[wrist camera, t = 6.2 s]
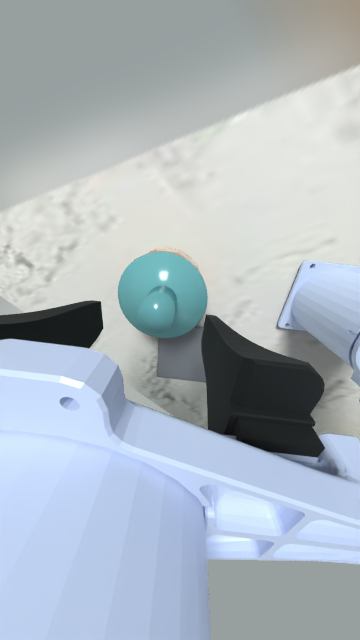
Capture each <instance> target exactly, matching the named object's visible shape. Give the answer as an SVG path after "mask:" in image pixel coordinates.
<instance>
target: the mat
mask: <svg viewBox="0 0 360 640" xmlns="http://www.w3.org/2000/svg"><path fill="white" fill-rule="evenodd" d="M203 329H204V327H196V326H195V327H194V328H193V329H191V330H190V331H189V332H187V333H185V334H183V335H180V336H177V337H171V338H159V349H158V364H157V376H158V377H166V378H175V379H183V380H192V381H200V382H206V376H205V370H204V364H203V358H202V352H201V339H202V334H203Z"/></svg>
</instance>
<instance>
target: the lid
mask: <svg viewBox="0 0 360 640" xmlns="http://www.w3.org/2000/svg"><path fill="white" fill-rule="evenodd" d="M118 299H119V304H120V307H121V309H122V311H123V313H124V315H125V317H126V318H127V319H128V321H129V322H130V323H131V324H132V325H133V326H134V327H136V328H137V329H138V330H140V331H142V332H143V333H145V334H148V335H151V336H154V337H159V338H171V337H177V336H180V335H183V334H185V333H187V332H189V331H190V330H191V329H193V328H194V327H195V326H196V325H197V324H198V323H199V322H200V320H201V319H202V317H203V315H204V313H205V310H206V306H207V289H206V285H205V282H204V279H203V277H202V275H201V274H200V272H199V271H198V269H197V268H196V267H195V266H194V265H193V264H192V263H191V262H190V261H189V260H187V259H186V258H184V257H182V256H180V255H178V254H175V253H171V252H164V251H160V252H152V253H148V254H145V255H143V256H141V257H139V258H137V259H136V260H134V261H133V262H132V263H131V264H130V265H129V266H128V267H127V268H126V269H125V271H124V272H123V274H122V276H121V279H120V282H119V286H118Z"/></svg>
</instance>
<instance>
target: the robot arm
mask: <svg viewBox="0 0 360 640" xmlns="http://www.w3.org/2000/svg"><path fill="white" fill-rule="evenodd" d="M312 264H313V267H312V268H310V266H311V265H312ZM287 323H288V324H287ZM285 324H287V325H286V326H285ZM278 326H279V327H280V328H285V329H293V330H302V331H308V332H309V333H310V334H312V335H313V336H314V337H315V338H316V339H318V340H319V341H320V342H321V343H323V344H324V345H325V346H326V347H327V348H329V349H330V350H331V351H332V352H333V353H335V354H336V355H337V356H338V357H339V358H341V359H342V360H343V361H344V362H346V363H347V364H348V365H349V366H350V367H352V368H353V369H354V373H353V375H352V377H351V379H352V380H353V381H354V382H355V383H357V384H358V385H359V386H360V267H359V266H350V265H342V264H334V263H326V262H318V261H310V260H306V261H304V262H303V263H302V264H301V267H300V269H299V272H298V274H297V277H296V279H295V282H294V284H293V287H292V289H291V291H290V294H289V296H288V299H287V301H286V304H285V306H284V309H283V311H282V314H281V316H280V319H279V321H278ZM102 329H103V320H102V310H101V302H100V301H84V302H79V303H74V304H70V305H66V306H61V307H57V308H52V309H47V310H42V311H36V312H29V313H22V314H11V315H0V640H211V630H210V610H209V590H208V573H207V572H208V571H207V559H232V560H234V559H235V560H295V561H296V560H297V561H324V562H338V563H339V562H340V563H351V564H360V441H359V440H358V439H357V437H354V436H347V435H339V434H331V433H323V434H320V435H317V434H316V432H315V431H314V429H313V428H312V426H313V427H314V425H315V421H314V420H313V418H312V417H311V415H310V413H311V412H312V410H313V409H314V407H315V406H316V404H317V403H318V401H319V400H320V398H321V396H322V394H323V392H324V382H323V379H322V377H321V376H320V375H319V374H318V373H317V372H316V371H315V369H314V368H313V367H312V366H311V365H310V364H309V363H307V362H304V361H300V360H297V359H293V358H290V357H286V356H284V355H281V354H278V353H275V352H273V351H270V350H268V349H265V348H263V347H261V346H259V345H257V344H255V343H253V342H251V341H249V340H248V339H246V338H244V337H243V336H241V335H239V334H238V333H237V332H235V331H234V330H233V329H231V328H230V327H229V326H228V325H226V324H225V323H224V322H223V321H222V320H220V319H219V318H218V317H217V316H214V315H206V318H205V323H204V329H203V334H202V339H201V352H202V358H203V364H204V370H205V376H206V385H207V408H208V429H205V428H202V427H200V426H197V425H194V424H191V423H189V422H186V421H183V420H181V419H178V418H175V417H173V416H170V415H167V414H165V413H162V412H159V411H156V410H154V409H151V408H148V407H146V406H143V405H140V404H138V403H134V402H132V401H129V400H128V399H126V398H125V394H124V385H123V377H122V374H121V371H120V369H119V366H118V365H117V364H116V363H115V362H114V361H113V360H111V359H110V358H109V357H108V356H107V355H106V354H104V353H101V352H98V351H95V350H92V349H89V348H90V347H91V346H92V344H93V343H94V342H95V341H96V339H97V338H98V336H99V335H100V333H101V331H102ZM359 401H360V400H359Z"/></svg>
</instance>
